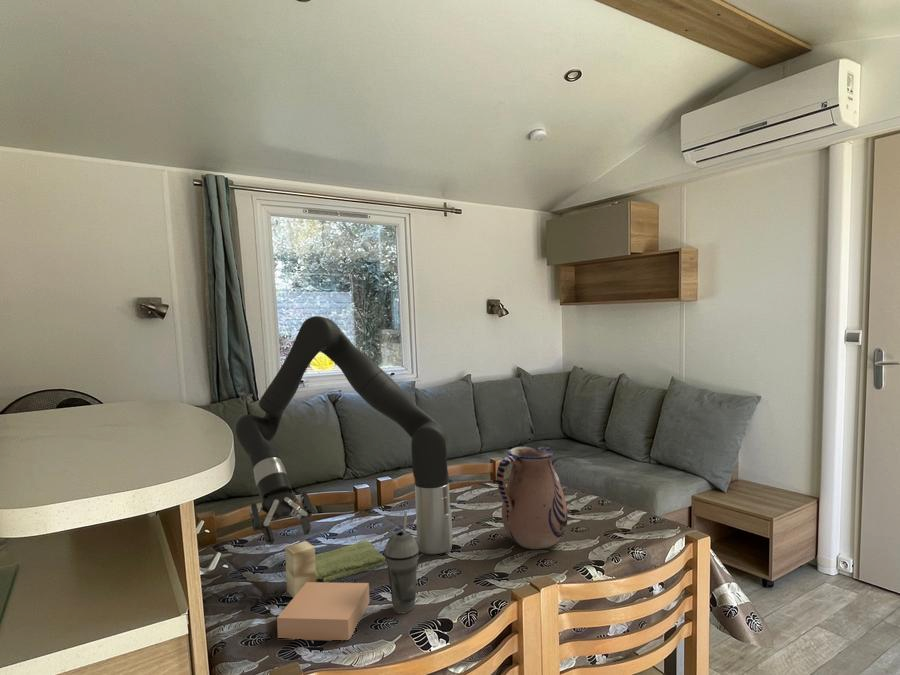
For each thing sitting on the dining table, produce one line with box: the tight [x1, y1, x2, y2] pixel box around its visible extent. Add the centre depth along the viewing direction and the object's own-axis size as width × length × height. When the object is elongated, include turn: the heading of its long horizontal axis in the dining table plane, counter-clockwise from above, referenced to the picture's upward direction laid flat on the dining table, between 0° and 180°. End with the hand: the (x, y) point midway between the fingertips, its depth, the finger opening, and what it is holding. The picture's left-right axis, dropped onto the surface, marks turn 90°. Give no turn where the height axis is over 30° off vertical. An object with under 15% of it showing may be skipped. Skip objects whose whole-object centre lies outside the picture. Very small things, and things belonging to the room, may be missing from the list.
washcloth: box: [315, 540, 386, 583], centre depth 126 cm, size 13×18×3 cm
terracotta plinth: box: [276, 581, 370, 642], centre depth 101 cm, size 14×14×4 cm
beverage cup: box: [383, 510, 420, 613], centre depth 104 cm, size 7×7×20 cm
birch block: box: [284, 540, 317, 599], centre depth 113 cm, size 5×5×10 cm
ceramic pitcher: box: [496, 445, 569, 550], centre depth 133 cm, size 18×21×25 cm
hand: (290, 537), depth 118 cm, fingers open, 8 cm apart
